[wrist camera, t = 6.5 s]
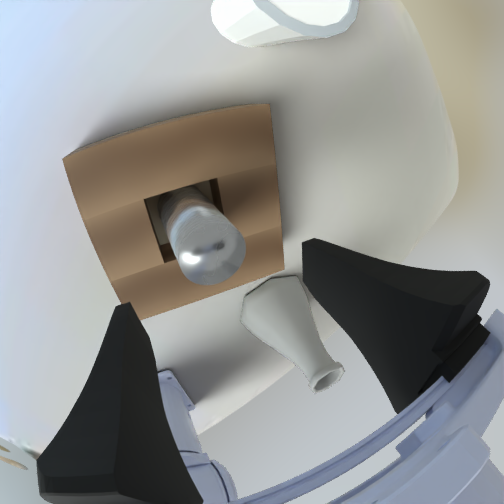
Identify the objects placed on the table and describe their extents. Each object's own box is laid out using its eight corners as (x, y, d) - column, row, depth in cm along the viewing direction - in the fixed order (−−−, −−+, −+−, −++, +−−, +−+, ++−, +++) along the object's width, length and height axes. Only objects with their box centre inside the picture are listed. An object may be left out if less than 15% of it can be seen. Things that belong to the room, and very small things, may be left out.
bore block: (267, 250, 23) (284, 269, 21) (130, 297, 20) (132, 322, 18) (249, 103, 17) (269, 104, 14) (73, 150, 14) (62, 158, 11)
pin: (205, 222, 19) (246, 275, 14) (161, 231, 18) (184, 292, 13) (201, 178, 18) (245, 216, 12) (154, 187, 16) (174, 231, 11)
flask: (231, 292, 24) (284, 381, 16) (302, 263, 26) (372, 332, 18) (245, 341, 28) (289, 418, 20) (304, 314, 30) (358, 379, 22)
